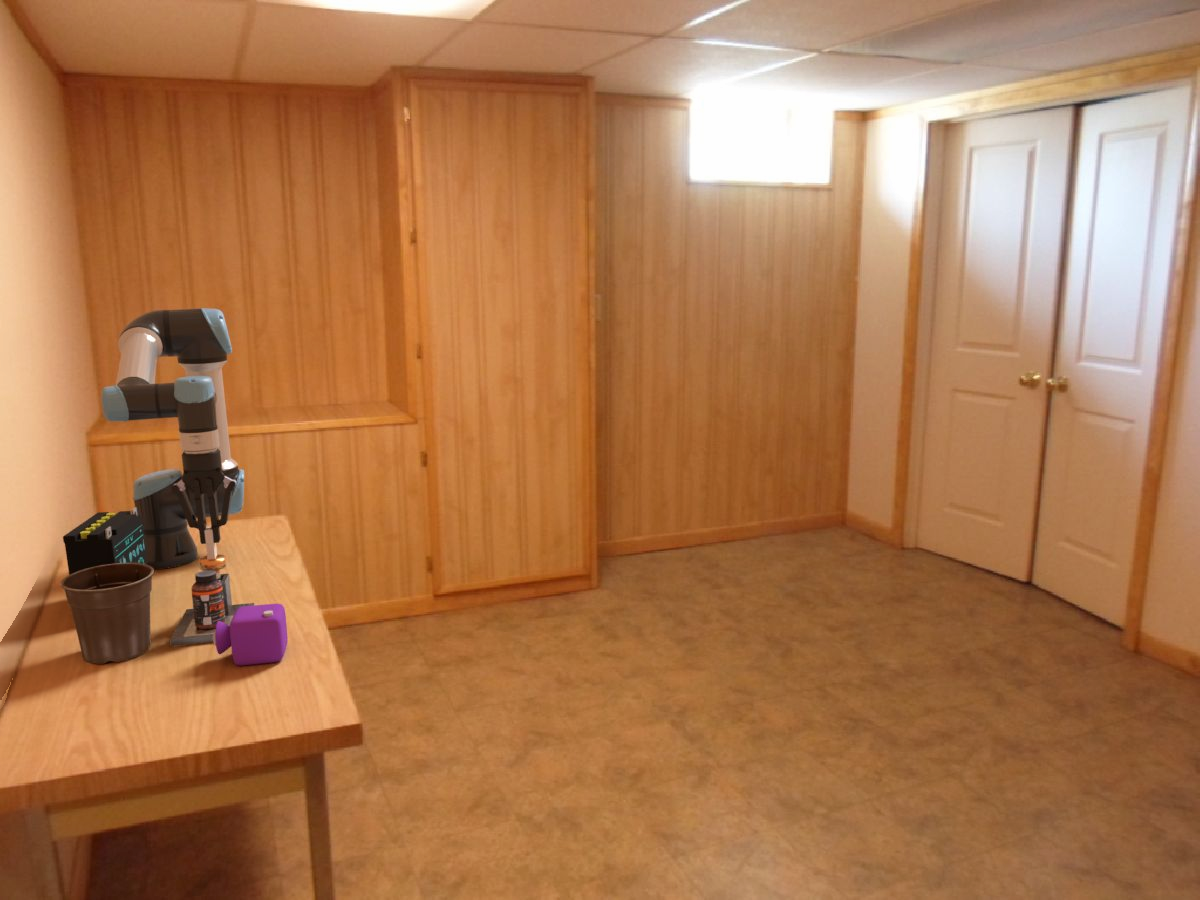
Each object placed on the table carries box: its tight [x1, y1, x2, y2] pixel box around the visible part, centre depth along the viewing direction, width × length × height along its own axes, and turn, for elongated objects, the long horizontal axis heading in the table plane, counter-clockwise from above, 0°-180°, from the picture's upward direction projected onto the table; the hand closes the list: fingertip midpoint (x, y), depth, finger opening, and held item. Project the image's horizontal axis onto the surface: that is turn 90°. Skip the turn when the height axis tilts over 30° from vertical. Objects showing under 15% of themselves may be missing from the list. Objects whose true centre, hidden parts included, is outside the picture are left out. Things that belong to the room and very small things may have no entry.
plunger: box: [199, 554, 227, 580], centre depth 199 cm, size 5×5×7 cm
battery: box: [62, 506, 147, 576], centre depth 208 cm, size 19×10×20 cm, turn 8°
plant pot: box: [60, 563, 155, 665], centre depth 182 cm, size 16×16×16 cm
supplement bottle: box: [191, 570, 225, 629], centre depth 191 cm, size 6×6×11 cm
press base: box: [169, 573, 255, 647], centre depth 194 cm, size 17×14×9 cm
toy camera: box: [212, 603, 289, 666], centre depth 179 cm, size 11×14×10 cm
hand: (212, 557), depth 198 cm, fingers closed
